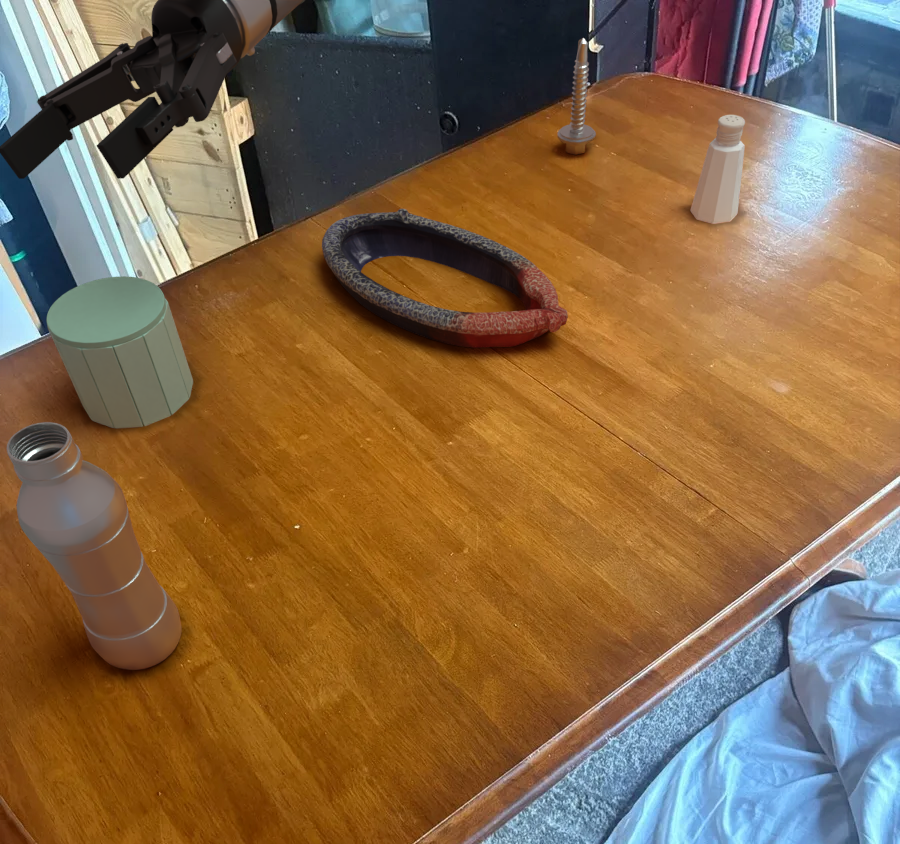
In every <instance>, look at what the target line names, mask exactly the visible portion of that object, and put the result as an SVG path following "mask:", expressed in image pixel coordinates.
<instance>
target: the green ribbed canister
mask: <svg viewBox="0 0 900 844" xmlns="http://www.w3.org/2000/svg"><path fill="white" fill-rule="evenodd" d="M46 325H47V330H48V332H49V334H50V337H51V338H52V339H51V340H52V341H53V343H54V346H55V348H56V350H57V353H58V355H59V357H60V359H61V361H62V363H63V365H64V368H65V370H66V372H67V374H68V377H69V379H70V381H71V383H72V385H73V388H74V390H75V392H76V394H77V397H78V399H79V401H80V403H81V405H82V408H83V409H84V411H85V412H86V414H87V416H88V417H89V419H90V420H91V421H92V422H94V423H97V424H99V425H103V426H105V427H106V426H107V427H108V428H112V429H129V428H143V427H146V426H150V425H152V424H154V423H156V422H159V421H162V420H164V419H167V418H169V417H171V416H173V415H174V414H175V413H177V411H178V410H180V408H181V407H182V406H183V405H185V404H186V403H187V402H188V401H189V400H190V399H191V396H192V395H191V394H192V391H193V385H194V379H193V375H192V373H191V369H190V366H189V363H188V360H187V357H186V353H185V351H184V347H183V344H182V341H181V339H180V334H179V332H178V329H177V325H176V322H175V319H174V317H173V313H172V310H171V307H170V304H169V301H168V300H167V298H166V296H165V294H164V292H163V291H162V289H161V288H160V287H159V286H158V285H157V284H155V283H154V282H152V281H150V280H148V279H145V278H140V277H135V276H124V275H123V276H110V277H109V276H108V277H102V278H99V279H94V280H91V281H87V282H85V283H83V284H79V285H77V286H75V287H73V288H71V289H69V290H68V291H66V292H65V293H63V294H62V295H61V296H60V297H58V298H57V299H56V300H55V301H54V302H53V303H52V305H51V306H50V308H49V309H48V312H47V315H46Z"/></svg>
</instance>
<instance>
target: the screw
mask: <svg viewBox="0 0 900 844" xmlns="http://www.w3.org/2000/svg"><path fill="white" fill-rule="evenodd" d="M577 41H578V42H577V54H576V59H575V60H574V63H575V65H574V66H573V68H574V70H573V71H572V73H573V74H574V75H573V76H572V79H573V81H572V84H573V86H572V87H571V89H572V90H573V91H572V92H571V94H572V97H571V100H572V102H570V104H571V107H570V109H571V111H570V115H571V117H569V118H570V120H571V121H570V122H569V124H566V125H564V126H562V127H561V128H560V129H559V130H558V131H557V136H556V137H557V139H558V140H559V141H560V142H562V143H564V144H565V153H566V154H569V155H573V156H577V155H581V154H584V153H586V145H587V144H589V143H591V142H593V141H595V139H596V137H597V133H596V131H595V129H593V127H592V126H590V125H587V124H585V122H586V120H585V119H586V111H587V110H586V108H587V97H588V94H587V92H588V86H589V85H588V82H589V78H588V77H589V75H590V74H589V71H590V68H589V65H590V62H588V46H589V44H588V43H589V42H588V41H587V40H586V38H584V37H582V38H580V39H579V40H577Z"/></svg>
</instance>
